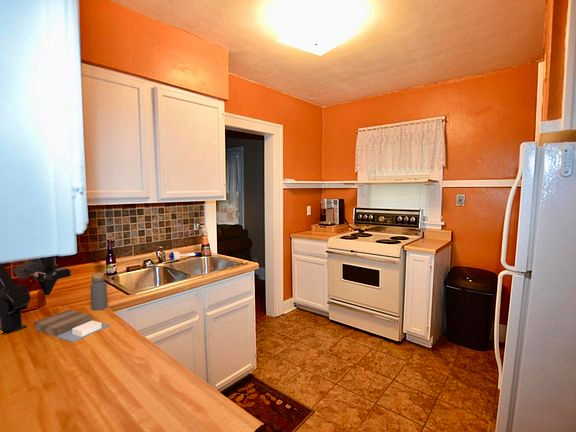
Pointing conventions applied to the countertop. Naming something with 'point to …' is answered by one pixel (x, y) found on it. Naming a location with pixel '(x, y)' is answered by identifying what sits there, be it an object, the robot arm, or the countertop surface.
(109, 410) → the countertop surface
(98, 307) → the bottle
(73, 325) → the step
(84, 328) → the pale pink rectangular block
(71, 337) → the mat
